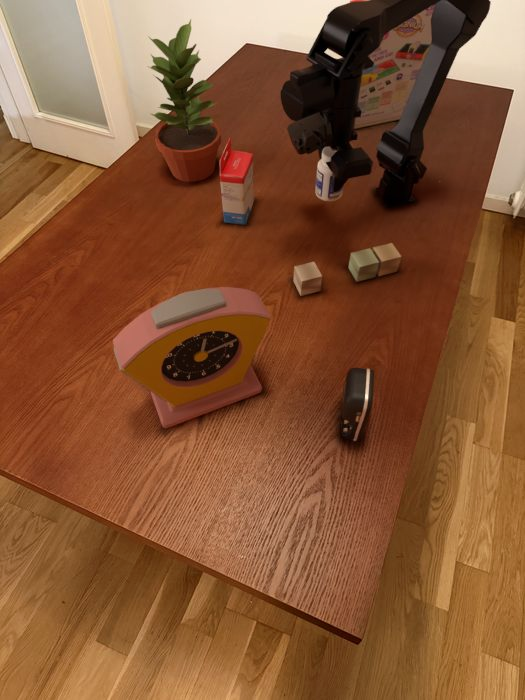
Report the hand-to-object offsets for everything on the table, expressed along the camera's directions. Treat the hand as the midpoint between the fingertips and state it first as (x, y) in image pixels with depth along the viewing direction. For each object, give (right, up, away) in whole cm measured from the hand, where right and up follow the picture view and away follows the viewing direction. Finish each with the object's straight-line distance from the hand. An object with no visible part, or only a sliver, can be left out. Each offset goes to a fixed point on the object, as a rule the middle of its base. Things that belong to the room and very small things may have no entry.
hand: (330, 182), depth 94 cm
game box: (+17, +28, +35) cm, 48 cm away
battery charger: (+1, -43, -16) cm, 46 cm away
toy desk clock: (-22, -38, -12) cm, 46 cm away
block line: (+3, -17, +2) cm, 18 cm away
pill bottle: (0, -2, +2) cm, 3 cm away
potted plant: (-29, +10, +23) cm, 38 cm away
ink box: (-18, -2, +14) cm, 23 cm away
